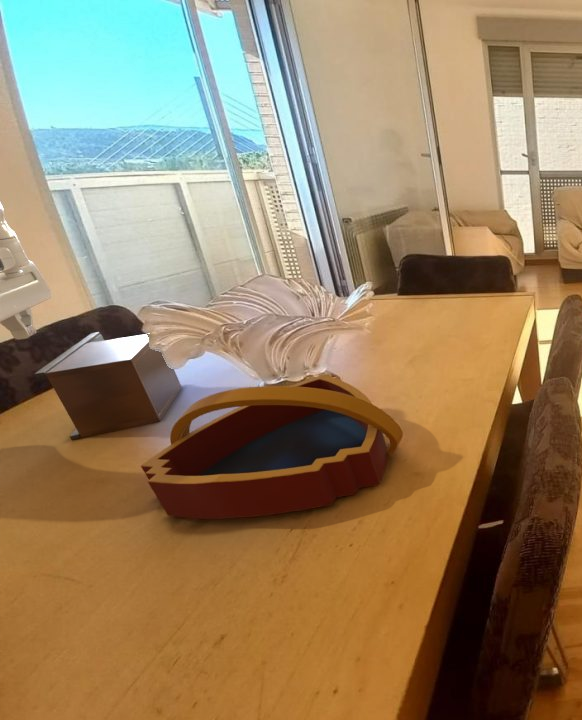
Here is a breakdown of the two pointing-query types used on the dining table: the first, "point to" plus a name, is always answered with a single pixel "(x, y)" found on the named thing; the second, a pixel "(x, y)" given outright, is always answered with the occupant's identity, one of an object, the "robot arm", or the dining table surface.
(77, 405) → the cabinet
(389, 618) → the dining table surface
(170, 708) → the dining table surface
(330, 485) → the decorative basket
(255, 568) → the dining table surface
